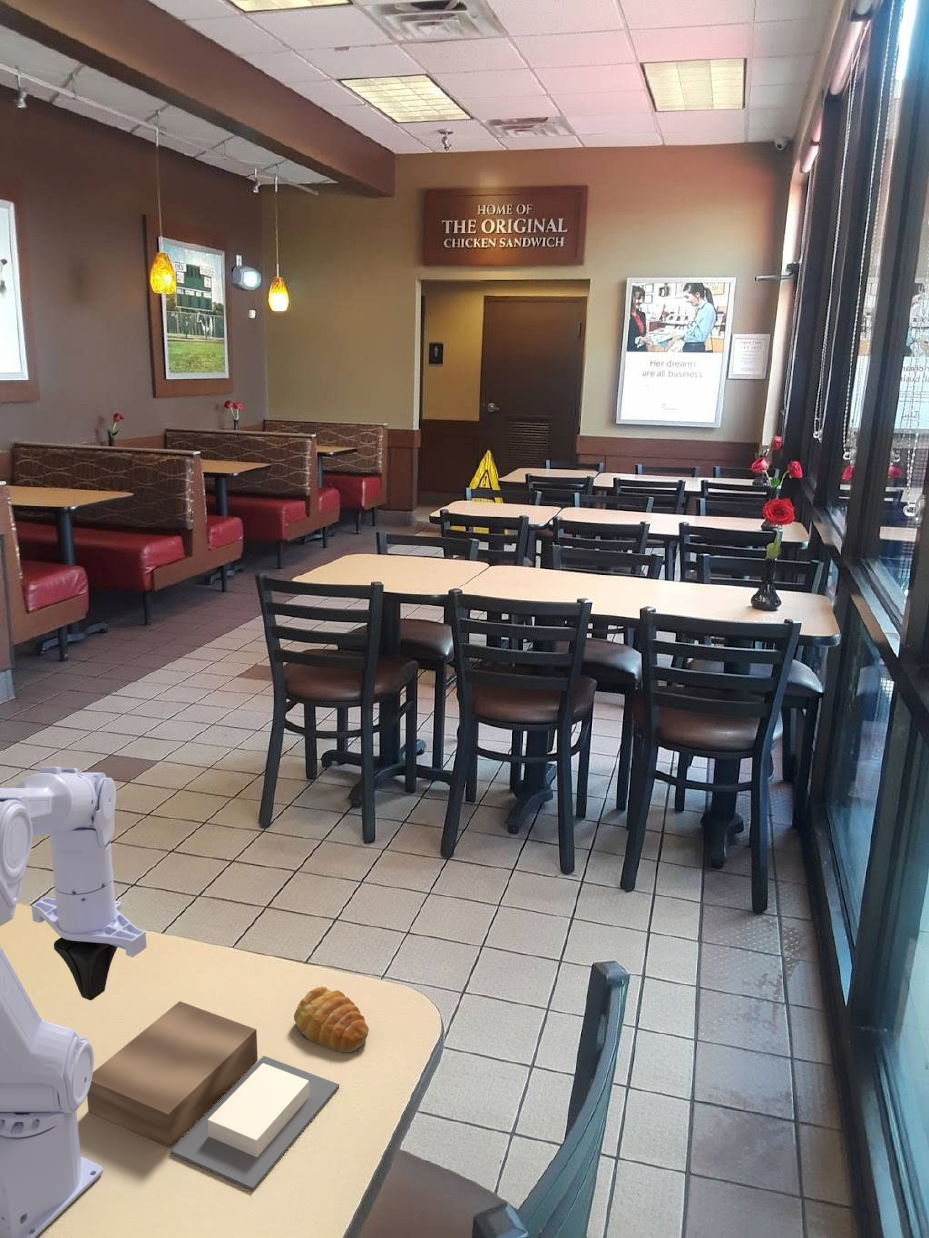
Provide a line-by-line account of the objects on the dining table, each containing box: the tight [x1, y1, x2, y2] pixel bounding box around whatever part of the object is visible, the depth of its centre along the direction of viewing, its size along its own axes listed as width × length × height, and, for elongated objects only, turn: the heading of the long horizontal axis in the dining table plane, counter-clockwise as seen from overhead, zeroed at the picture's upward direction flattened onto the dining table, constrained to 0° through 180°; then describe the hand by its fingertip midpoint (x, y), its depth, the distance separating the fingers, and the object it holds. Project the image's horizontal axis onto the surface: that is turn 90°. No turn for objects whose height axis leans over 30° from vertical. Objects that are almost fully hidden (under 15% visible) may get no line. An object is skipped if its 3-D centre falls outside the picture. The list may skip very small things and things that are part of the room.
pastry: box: [293, 986, 370, 1053], centre depth 109 cm, size 9×7×4 cm
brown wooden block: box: [86, 1001, 259, 1149], centre depth 100 cm, size 14×11×4 cm
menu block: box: [208, 1063, 310, 1157], centre depth 96 cm, size 9×6×2 cm, turn 155°
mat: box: [170, 1055, 340, 1192], centre depth 96 cm, size 15×10×1 cm, turn 155°
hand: (93, 993), depth 100 cm, fingers closed
